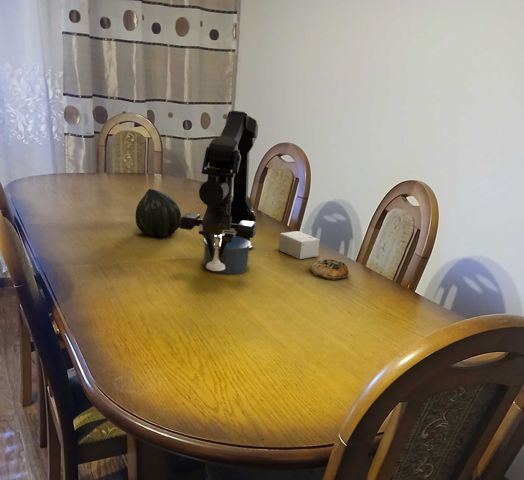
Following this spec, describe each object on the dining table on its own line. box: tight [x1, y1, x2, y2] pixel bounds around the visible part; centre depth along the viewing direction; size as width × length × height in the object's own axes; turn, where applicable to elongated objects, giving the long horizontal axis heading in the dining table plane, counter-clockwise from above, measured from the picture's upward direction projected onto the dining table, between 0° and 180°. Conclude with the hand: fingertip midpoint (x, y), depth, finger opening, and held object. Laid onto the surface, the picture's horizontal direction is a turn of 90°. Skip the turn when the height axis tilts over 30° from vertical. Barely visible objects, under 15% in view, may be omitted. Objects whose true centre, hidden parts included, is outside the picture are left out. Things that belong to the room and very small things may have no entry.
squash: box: [135, 188, 182, 238], centre depth 181 cm, size 14×15×15 cm
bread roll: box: [310, 258, 349, 281], centre depth 164 cm, size 11×11×5 cm
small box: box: [277, 230, 321, 260], centre depth 178 cm, size 8×6×10 cm
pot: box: [203, 243, 250, 275], centre depth 160 cm, size 12×12×7 cm
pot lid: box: [203, 234, 252, 250], centre depth 157 cm, size 13×13×5 cm
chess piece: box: [205, 235, 225, 271], centre depth 145 cm, size 5×5×10 cm
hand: (216, 257), depth 146 cm, fingers closed on chess piece
